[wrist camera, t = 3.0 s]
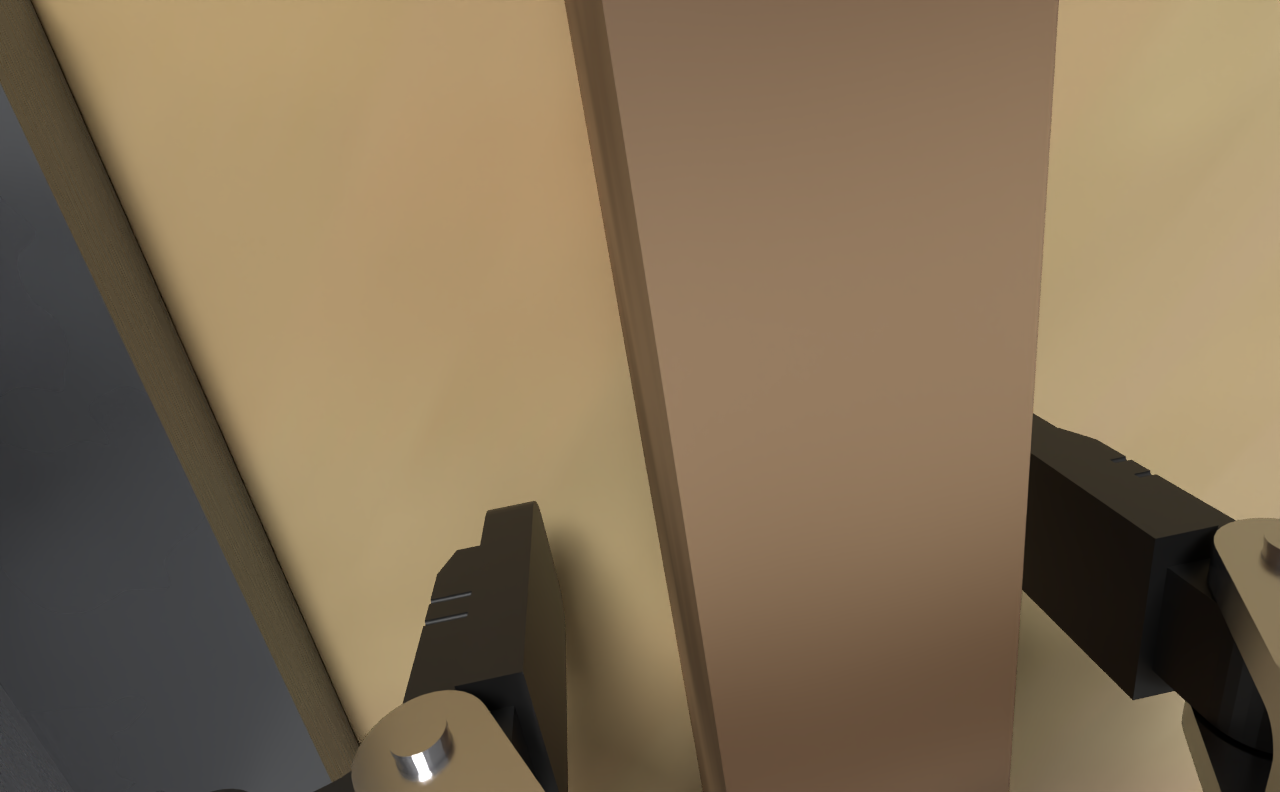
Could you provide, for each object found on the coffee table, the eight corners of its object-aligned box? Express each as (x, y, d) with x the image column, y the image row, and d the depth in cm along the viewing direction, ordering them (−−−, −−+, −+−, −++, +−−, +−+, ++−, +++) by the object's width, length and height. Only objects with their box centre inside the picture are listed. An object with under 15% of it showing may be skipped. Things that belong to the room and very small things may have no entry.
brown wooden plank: (504, -336, 8) (397, -1315, 3) (751, -371, 8) (1147, -1374, 3) (717, 877, 16) (800, 1259, 11) (839, 849, 17) (982, 1213, 11)
